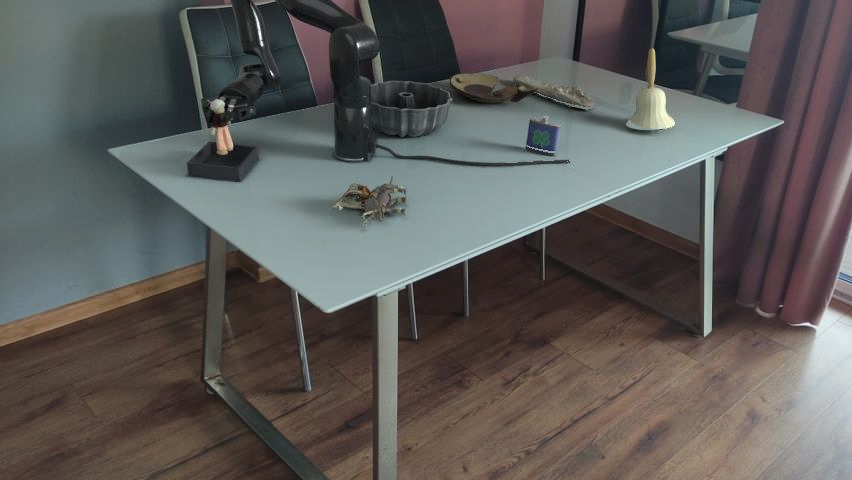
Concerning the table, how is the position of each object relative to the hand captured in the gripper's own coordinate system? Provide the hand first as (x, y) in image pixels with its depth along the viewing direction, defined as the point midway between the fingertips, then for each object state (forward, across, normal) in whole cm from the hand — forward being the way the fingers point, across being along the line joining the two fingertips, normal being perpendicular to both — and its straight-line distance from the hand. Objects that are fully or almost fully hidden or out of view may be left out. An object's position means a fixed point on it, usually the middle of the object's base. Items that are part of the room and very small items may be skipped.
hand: (214, 119), depth 176 cm
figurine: (+12, +38, +13) cm, 42 cm away
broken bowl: (-77, +61, +14) cm, 99 cm away
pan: (-3, 0, +13) cm, 13 cm away
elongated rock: (-88, +82, +14) cm, 122 cm away
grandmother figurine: (-3, +1, +9) cm, 9 cm away
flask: (-36, +78, +13) cm, 87 cm away
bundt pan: (-44, +38, +14) cm, 60 cm away
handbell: (-66, +113, +14) cm, 132 cm away
